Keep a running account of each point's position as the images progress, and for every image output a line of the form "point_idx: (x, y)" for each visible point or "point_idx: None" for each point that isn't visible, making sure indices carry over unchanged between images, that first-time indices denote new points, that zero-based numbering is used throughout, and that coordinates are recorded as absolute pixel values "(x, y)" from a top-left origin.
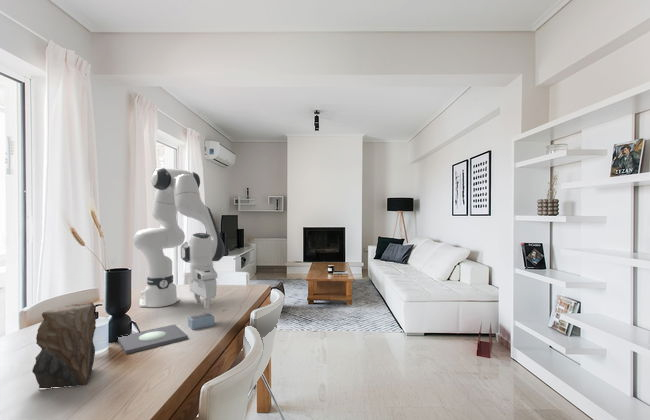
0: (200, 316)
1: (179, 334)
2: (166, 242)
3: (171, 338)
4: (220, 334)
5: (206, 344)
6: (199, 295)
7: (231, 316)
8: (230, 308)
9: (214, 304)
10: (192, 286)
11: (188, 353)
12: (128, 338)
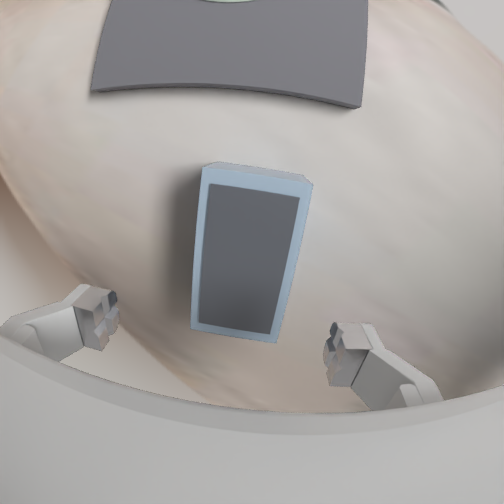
0: (239, 259)
1: (137, 54)
2: None
3: (119, 14)
4: (61, 239)
5: (14, 146)
6: (109, 383)
7: (260, 397)
8: None
9: None
10: (494, 472)
11: (5, 74)
12: None
